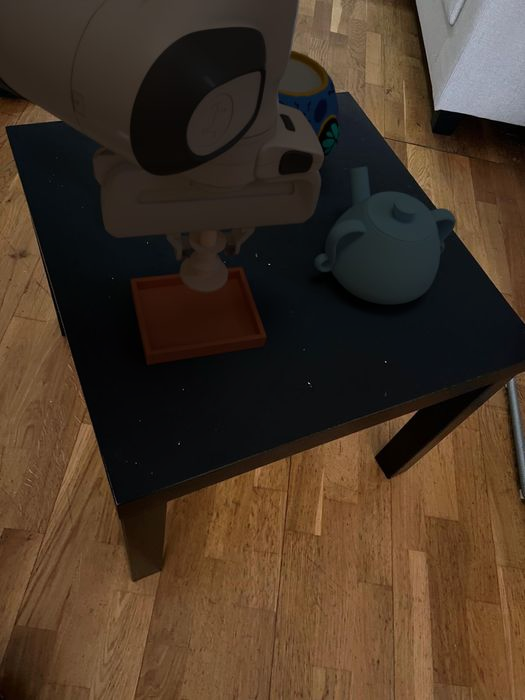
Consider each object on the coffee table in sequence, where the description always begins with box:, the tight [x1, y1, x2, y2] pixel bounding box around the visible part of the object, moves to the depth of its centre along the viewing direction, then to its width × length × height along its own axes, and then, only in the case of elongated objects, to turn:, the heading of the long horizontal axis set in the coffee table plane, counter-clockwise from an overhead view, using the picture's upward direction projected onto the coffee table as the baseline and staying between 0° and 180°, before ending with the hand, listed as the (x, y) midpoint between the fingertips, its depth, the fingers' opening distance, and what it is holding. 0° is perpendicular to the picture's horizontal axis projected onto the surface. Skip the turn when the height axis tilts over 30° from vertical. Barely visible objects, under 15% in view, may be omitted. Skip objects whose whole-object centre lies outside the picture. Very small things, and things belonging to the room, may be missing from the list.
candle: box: [179, 230, 228, 293], centre depth 55 cm, size 5×5×10 cm
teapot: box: [314, 165, 457, 305], centre depth 72 cm, size 20×20×13 cm
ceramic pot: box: [278, 50, 341, 157], centre depth 79 cm, size 18×18×15 cm
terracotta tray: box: [130, 266, 267, 366], centre depth 65 cm, size 14×11×2 cm
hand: (206, 252), depth 56 cm, fingers closed on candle, 4 cm apart
